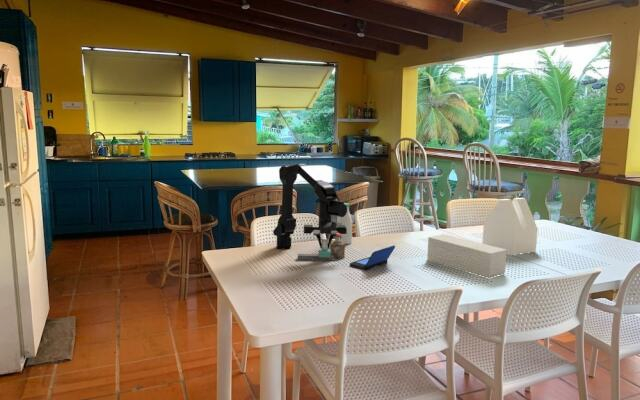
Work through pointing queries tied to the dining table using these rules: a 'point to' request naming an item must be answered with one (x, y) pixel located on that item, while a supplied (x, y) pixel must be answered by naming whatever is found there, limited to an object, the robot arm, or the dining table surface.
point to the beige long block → (467, 255)
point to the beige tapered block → (511, 227)
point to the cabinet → (337, 249)
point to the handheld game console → (374, 259)
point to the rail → (314, 257)
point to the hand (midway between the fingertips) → (324, 248)
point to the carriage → (324, 248)
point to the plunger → (337, 238)
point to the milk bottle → (348, 223)
